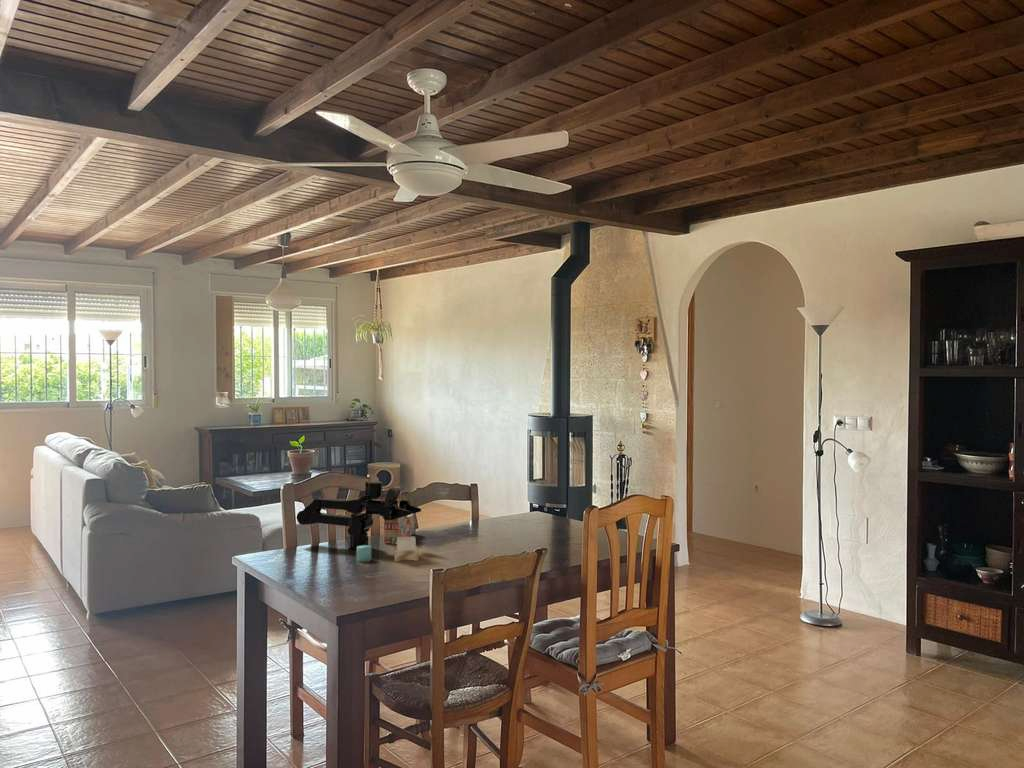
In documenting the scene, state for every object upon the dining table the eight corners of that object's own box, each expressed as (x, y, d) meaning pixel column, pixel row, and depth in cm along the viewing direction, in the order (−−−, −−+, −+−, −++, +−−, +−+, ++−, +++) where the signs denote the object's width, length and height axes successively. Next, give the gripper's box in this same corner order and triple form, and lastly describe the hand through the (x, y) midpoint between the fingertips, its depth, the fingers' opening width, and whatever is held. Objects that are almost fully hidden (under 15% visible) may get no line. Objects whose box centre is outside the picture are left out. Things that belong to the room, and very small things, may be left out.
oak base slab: (394, 562, 297) (394, 551, 297) (394, 556, 306) (394, 546, 306) (418, 561, 299) (418, 551, 299) (417, 555, 308) (417, 545, 308)
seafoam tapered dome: (354, 561, 297) (354, 547, 297) (360, 557, 302) (360, 544, 302) (367, 562, 295) (367, 549, 295) (373, 558, 301) (373, 545, 301)
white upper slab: (397, 551, 298) (397, 540, 298) (396, 547, 305) (397, 536, 305) (415, 550, 299) (415, 540, 299) (415, 546, 306) (415, 536, 306)
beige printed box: (401, 533, 348) (401, 506, 348) (414, 534, 347) (414, 506, 347) (383, 543, 327) (384, 514, 327) (398, 544, 326) (398, 515, 326)
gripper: (370, 490, 306) (407, 493, 301) (392, 485, 324) (426, 488, 319) (369, 518, 306) (405, 522, 301) (390, 512, 324) (425, 516, 319)
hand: (416, 511), depth 310 cm, fingers open, 9 cm apart
